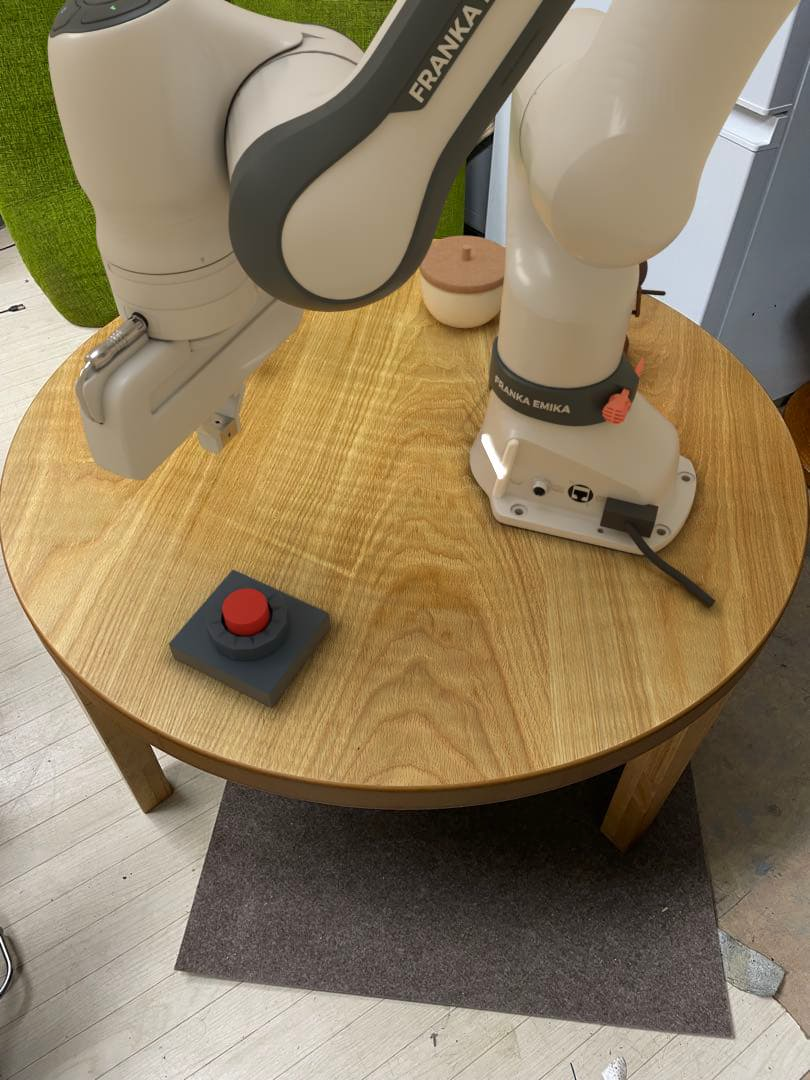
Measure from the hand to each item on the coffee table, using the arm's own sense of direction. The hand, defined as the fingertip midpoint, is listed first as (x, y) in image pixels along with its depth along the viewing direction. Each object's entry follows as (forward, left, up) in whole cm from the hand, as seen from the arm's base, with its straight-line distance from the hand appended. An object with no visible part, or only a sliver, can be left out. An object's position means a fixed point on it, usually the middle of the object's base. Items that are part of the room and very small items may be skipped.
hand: (221, 440), depth 65 cm
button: (-4, +5, -14) cm, 15 cm away
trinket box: (+1, -46, -18) cm, 49 cm away
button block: (-4, +5, -18) cm, 19 cm away
